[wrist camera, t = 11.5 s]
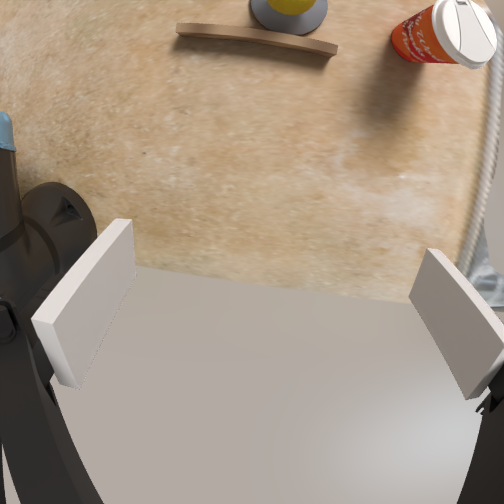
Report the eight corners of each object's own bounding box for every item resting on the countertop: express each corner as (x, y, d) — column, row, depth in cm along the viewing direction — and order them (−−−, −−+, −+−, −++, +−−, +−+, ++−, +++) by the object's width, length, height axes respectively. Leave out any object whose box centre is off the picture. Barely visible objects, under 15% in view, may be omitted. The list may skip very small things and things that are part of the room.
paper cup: (375, 18, 28) (426, -9, 16) (424, 14, 27) (485, -5, 15) (394, 74, 32) (454, 72, 19) (441, 67, 30) (508, 68, 18)
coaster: (245, 29, 30) (245, 28, 29) (257, -31, 26) (257, -33, 25) (320, 42, 31) (321, 41, 30) (330, -17, 26) (332, -19, 26)
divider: (181, 36, 31) (175, 32, 28) (183, 27, 30) (177, 22, 27) (330, 57, 31) (336, 54, 29) (332, 48, 31) (338, 45, 28)
